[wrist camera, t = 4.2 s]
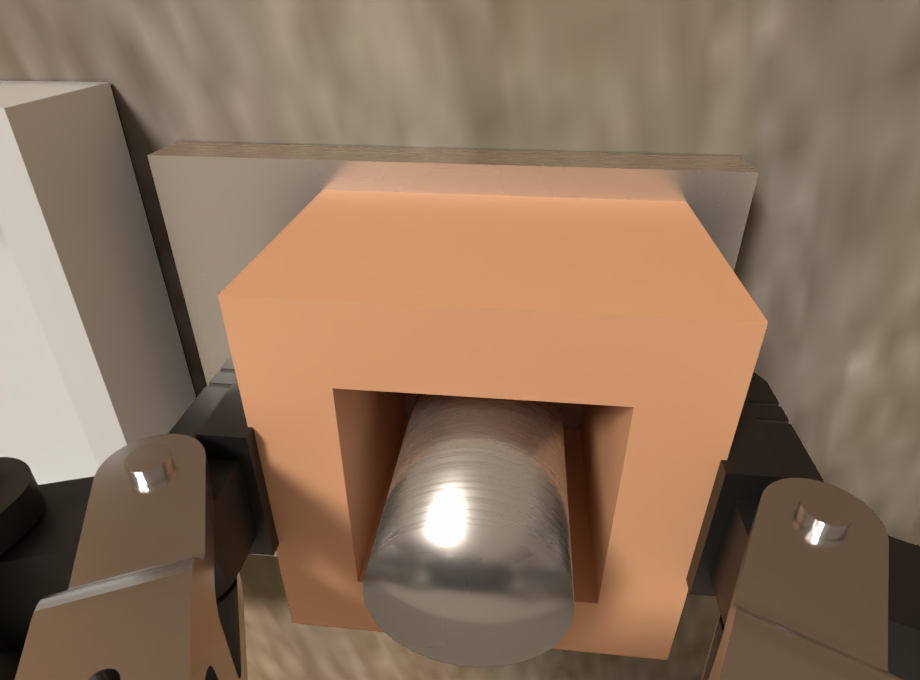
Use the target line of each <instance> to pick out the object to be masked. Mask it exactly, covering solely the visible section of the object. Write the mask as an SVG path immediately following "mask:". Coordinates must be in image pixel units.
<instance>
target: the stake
mask: <svg viewBox="0 0 920 680" xmlns="http://www.w3.org/2000/svg"><path fill="white" fill-rule="evenodd" d="M147 156H148V160H149V164H150V168H151V171H152V175H153V179H154V183H155V187H156V191H157V195H158V198H159V202H160V206H161V210H162V214H163V218H164V221H165V225H166V229H167V233H168V237H169V241H170V245H171V248H172V252H173V256H174V260H175V264H176V268H177V272H178V275H179V279H180V283H181V287H182V291H183V295H184V298H185V302H186V306H187V310H188V314H189V318H190V322H191V325H192V329H193V333H194V337H195V341H196V345H197V348H198V352H199V356H200V360H201V364H202V368H203V372H204V375H205V379H206V383H207V386H209V382H210V380H211V379H212V378H213V377H214V375H215V374H216V373H217V372H220V368H221V367H222V365H223V364H224V363H225V362H226V360H227V359H228V358H229V357H230V355H231V351H230V347H229V342H228V338H227V334H226V329H225V325H224V320H223V316H222V312H221V307H220V303H219V298H218V295H219V294H220V293H221V292H222V291H223V290H224V289H225V288H226V287H227V286H228V285H229V284H230V283H231V282H232V281H233V280H234V279H235V278H236V277H237V276H238V274H239V273H240V272H241V271H242V270H243V269H244V268H245V267H246V266H247V265H248V264H249V263H250V262H251V261H252V260H253V259H254V258H255V257H256V256H257V255H258V254H259V253H260V252H261V251H262V250H263V249H264V248H265V247H266V246H267V245H268V244H269V243H270V242H271V241H272V240H273V239H274V238H275V237H276V236H277V235H278V234H279V233H280V232H281V231H282V230H283V229H284V228H285V227H286V226H287V225H288V224H289V223H290V222H291V221H292V220H293V219H294V218H295V217H296V216H297V215H298V214H299V213H300V212H301V211H302V210H303V209H304V208H305V207H306V206H307V205H308V204H309V203H310V202H311V201H312V200H313V199H314V198H315V197H316V196H317V195H318V194H319V193H320V192H321V191H322V190H342V191H373V192H404V193H435V194H465V195H496V196H527V197H557V198H588V199H619V200H650V201H680V202H687V203H688V205H689V206H690V208H691V209H692V211H693V212H694V214H695V215H696V217H697V218H698V220H699V221H700V223H701V224H702V226H703V227H704V229H705V230H706V231H707V233H708V234H709V236H710V237H711V239H712V240H713V242H714V243H715V245H716V246H717V248H718V249H719V251H720V252H721V254H722V255H723V257H724V258H725V260H726V261H727V262H728V264H729V265H730V267H731V268H732V270H733V271H734V269H735V265H736V261H737V257H738V253H739V249H740V245H741V241H742V237H743V233H744V229H745V225H746V221H747V217H748V213H749V209H750V205H751V201H752V197H753V194H754V190H755V186H756V182H757V178H758V174H759V172H758V171H757V170H756V169H754V168H753V167H752V166H751V165H750V164H749V163H747V162H746V161H745V160H744V159H743V158H742V157H741V156H715V155H676V154H638V153H599V152H560V151H522V150H483V149H444V148H406V147H367V146H328V145H290V144H251V143H212V142H175V143H173V144H171V145H168V146H166V147H164V148H162V149H160V150H157V151H155V152H153V153H151V154H149V155H147ZM404 402H405V419H409V422H408V425H407V429H406V432H405V436H404V439H403V443H402V446H401V450H400V453H399V457H398V460H397V464H396V468H395V471H394V475H393V478H392V482H391V485H390V489H389V492H388V496H387V499H386V503H385V506H384V510H383V513H382V517H381V520H380V524H379V527H378V531H377V535H376V538H375V542H374V545H373V549H372V552H371V556H370V559H369V563H368V566H367V570H366V573H365V577H364V582H363V597H364V601H365V605H366V607H367V609H368V612H369V614H370V615H371V617H372V618H373V620H374V621H375V623H376V624H377V625H378V626H379V627H380V628H381V629H382V630H383V631H384V632H385V633H386V634H387V635H388V636H389V637H391V638H392V639H393V640H395V641H396V642H397V643H399V644H401V645H402V646H404V647H406V648H407V649H409V650H411V651H413V652H415V653H417V654H420V655H422V656H425V657H428V658H430V659H434V660H437V661H440V662H444V663H449V664H454V665H461V666H469V667H497V666H506V665H511V664H516V663H520V662H523V661H527V660H530V659H532V658H535V657H537V656H539V655H541V654H543V653H545V652H547V651H548V650H550V649H551V648H552V647H554V646H555V645H556V644H557V643H558V642H559V641H560V640H561V639H562V638H563V637H564V636H565V634H566V633H567V632H568V630H569V628H570V626H571V624H572V621H573V617H574V607H575V604H574V588H573V573H572V557H571V541H570V526H569V510H568V494H567V479H566V463H565V447H564V432H563V429H569V430H580V429H581V422H582V414H583V406H584V404H576V403H560V402H544V401H528V400H512V399H496V398H480V397H464V396H448V395H432V394H416V393H404ZM254 555H259V554H254ZM265 556H270V555H265ZM274 556H277V553H276V552H275V554H274Z"/></svg>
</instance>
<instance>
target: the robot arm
mask: <svg viewBox="0 0 920 680" xmlns="http://www.w3.org/2000/svg"><path fill="white" fill-rule="evenodd" d="M778 404H779V402H778V401H777V399H776V397H775V395H774V394H773V392H772V390H771V388H770V387H769V385H768V383H767V382H766V381H765V380H763V379H762V378H761V377H760V376H758V375H757V374H756V373H755V372H753V375H752V378H751V381H750V385H749V388H748V391H747V395H746V398H745V402H744V405H743V408H742V412H741V415H740V418H739V422H738V425H737V428H736V432H735V435H734V438H733V442H732V445H731V448H730V452H729V455H728V459H727V460H721V461H720V464H719V468H718V471H717V475H716V478H715V481H714V485H713V488H712V492H711V495H710V499H709V502H708V505H707V509H706V512H705V516H704V519H703V523H702V526H701V530H700V533H699V536H698V540H697V543H696V547H695V550H694V554H693V557H692V560H691V564H690V567H689V571H688V574H687V578H686V581H687V585H688V589H689V593H690V594H695V595H706V596H716V600H717V603H718V607H719V610H720V615H719V618H718V621H717V624H716V627H715V630H714V633H713V637H712V641H711V644H710V648H709V651H708V655H707V659H706V662H705V666H704V670H703V673H702V677H701V680H920V546H917V545H914V544H911V543H907V542H904V541H901V540H898V539H895V538H893V537H890V536H888V533H887V531H886V528H885V526H884V525H883V523H882V521H881V520H880V518H879V517H878V516H877V515H876V514H875V513H874V511H872V510H871V509H870V508H869V507H868V506H867V505H866V504H865V503H863V502H862V501H861V500H859V499H858V498H856V497H855V496H853V495H851V494H850V493H848V492H846V491H844V490H842V489H840V488H838V487H835V486H833V485H830V484H828V483H825V482H824V481H823V479H822V477H821V476H820V474H819V472H818V470H817V469H816V467H815V465H814V463H813V462H812V460H811V458H810V456H809V455H808V453H807V451H806V449H805V448H804V446H803V444H802V442H801V441H800V439H799V437H798V435H797V434H796V432H795V430H794V428H793V427H792V425H791V424H788V418H787V416H786V415H785V413H784V411H783V409H782V408H781V407H779V406H778ZM278 545H279V542H278V537H277V533H276V528H275V524H274V519H273V515H272V510H271V506H270V501H269V497H268V492H267V488H266V483H265V479H264V474H263V470H262V465H261V461H260V456H259V452H258V447H257V443H256V438H255V434H254V429H253V427H248V426H247V421H246V417H245V413H244V408H243V404H242V399H241V395H240V391H239V386H238V382H237V377H236V373H235V369H234V364H233V360H232V355H230V357H229V358H228V359H227V360H226V362H225V363H224V364H223V365H222V367H221V368H220V372H217V373H216V374H215V375H214V377H213V378H212V379H211V380H210V382H209V386H206V387H205V388H204V389H203V390H202V392H201V393H200V394H199V395H198V397H197V398H196V399H195V400H194V402H193V403H192V404H191V405H190V407H189V408H188V409H187V410H186V412H185V413H184V414H183V415H182V417H181V418H180V419H179V420H178V422H177V423H176V424H175V425H174V427H173V428H172V429H171V430H170V432H169V433H168V434H161V435H154V436H150V437H146V438H143V439H140V440H137V441H135V442H133V443H130V444H128V445H126V446H124V447H123V448H121V449H119V450H118V451H116V452H115V453H113V454H112V455H111V456H109V457H108V458H107V459H106V460H105V461H104V462H103V463H102V464H101V466H100V467H99V468H98V470H97V472H96V473H95V476H92V477H86V478H80V479H73V480H67V481H60V482H54V483H48V484H41V485H38V484H37V482H36V480H35V478H34V476H33V474H32V472H31V469H30V467H29V466H28V465H27V464H26V463H25V462H23V461H22V460H19V459H16V458H11V457H0V680H248V676H247V658H246V640H245V623H244V605H243V587H242V581H241V577H240V573H239V571H240V569H241V567H242V565H243V563H244V561H245V559H246V557H247V555H248V554H259V555H270V556H274V554H275V552H276V550H277V548H278Z"/></svg>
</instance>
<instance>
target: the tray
mask: <svg viewBox="0 0 920 680" xmlns="http://www.w3.org/2000/svg"><path fill="white" fill-rule="evenodd" d="M195 399H196V395H195V392H194V388H193V384H192V381H191V377H190V373H189V370H188V366H187V362H186V359H185V355H184V352H183V348H182V344H181V341H180V337H179V333H178V330H177V326H176V322H175V319H174V315H173V311H172V308H171V304H170V301H169V297H168V293H167V290H166V286H165V282H164V279H163V275H162V271H161V268H160V264H159V261H158V257H157V253H156V250H155V246H154V242H153V239H152V235H151V231H150V228H149V224H148V220H147V217H146V213H145V210H144V206H143V202H142V199H141V195H140V191H139V188H138V184H137V180H136V177H135V173H134V169H133V166H132V162H131V159H130V155H129V151H128V148H127V144H126V140H125V137H124V133H123V129H122V126H121V122H120V119H119V115H118V111H117V108H116V104H115V100H114V97H113V93H112V89H111V86H110V82H68V81H9V80H0V457H11V458H16V459H19V460H22V461H23V462H25V463H26V464H27V465H28V466H29V467H30V469H31V472H32V474H33V476H34V478H35V480H36V482H37V484H38V485H41V484H48V483H54V482H60V481H67V480H73V479H80V478H86V477H92V476H95V473H96V472H97V470H98V468H99V467H100V466H101V464H102V463H103V462H104V461H105V460H106V459H107V458H108V457H109V456H111V455H112V454H113V453H115V452H116V451H118V450H119V449H121V448H123V447H124V446H126V445H128V444H130V443H133V442H135V441H137V440H140V439H143V438H146V437H150V436H154V435H161V434H168V433H169V432H170V430H171V429H172V428H173V427H174V425H175V424H176V423H177V422H178V420H179V419H180V418H181V417H182V415H183V414H184V413H185V412H186V410H187V409H188V408H189V407H190V405H191V404H192V403H193V402H194V400H195Z"/></svg>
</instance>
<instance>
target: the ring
mask: <svg viewBox="0 0 920 680" xmlns="http://www.w3.org/2000/svg"><path fill="white" fill-rule="evenodd" d="M218 298H219V303H220V307H221V312H222V316H223V320H224V325H225V329H226V334H227V338H228V342H229V347H230V351H231V355H232V360H233V364H234V369H235V373H236V377H237V382H238V386H239V391H240V395H241V399H242V404H243V408H244V413H245V417H246V421H247V426H248V427H253V429H254V434H255V438H256V443H257V447H258V452H259V456H260V461H261V465H262V470H263V474H264V479H265V483H266V488H267V492H268V497H269V501H270V506H271V510H272V515H273V519H274V524H275V528H276V533H277V537H278V542H279V545H278V548H277V550H276V553H277V557H278V562H279V566H280V571H281V575H282V579H283V584H284V588H285V593H286V597H287V601H288V606H289V610H290V614H291V619H292V623H296V624H306V625H317V626H327V627H337V628H347V629H357V630H367V631H377V632H384V631H383V630H382V629H381V628H380V627H379V626H378V625H377V624H376V623H375V621H374V620H373V618H372V617H371V615H370V614H369V612H368V609H367V607H366V605H365V601H364V597H363V582H364V577H365V573H366V570H367V566H368V563H369V559H370V556H371V552H372V549H373V545H374V542H375V538H376V535H377V531H378V527H379V524H380V520H381V517H382V513H383V510H384V506H385V503H386V499H387V496H388V492H389V489H390V485H391V482H392V478H393V475H394V471H395V468H396V464H397V460H398V457H399V453H400V450H401V446H402V443H403V439H404V436H405V432H406V429H407V425H408V422H409V419H405V402H404V393H416V394H432V395H448V396H464V397H480V398H496V399H512V400H528V401H544V402H560V403H576V404H584V406H583V414H582V422H581V429H580V430H569V429H563V432H564V447H565V463H566V479H567V494H568V510H569V526H570V541H571V557H572V573H573V588H574V604H575V607H574V617H573V621H572V624H571V626H570V628H569V630H568V632H567V633H566V634H565V636H564V637H563V638H562V639H561V640H560V641H559V642H558V643H557V644H556V645H555V646H554V647H552V648H551V649H560V650H570V651H580V652H590V653H601V654H611V655H621V656H631V657H641V658H651V659H661V660H668V656H669V653H670V650H671V646H672V643H673V640H674V636H675V633H676V630H677V626H678V623H679V620H680V616H681V613H682V610H683V606H684V603H685V599H686V596H687V593H688V585H687V581H686V578H687V574H688V571H689V567H690V564H691V560H692V557H693V554H694V550H695V547H696V543H697V540H698V536H699V533H700V530H701V526H702V523H703V519H704V516H705V512H706V509H707V505H708V502H709V499H710V495H711V492H712V488H713V485H714V481H715V478H716V475H717V471H718V468H719V464H720V461H721V460H727V459H728V455H729V452H730V448H731V445H732V442H733V438H734V435H735V432H736V428H737V425H738V422H739V418H740V415H741V412H742V408H743V405H744V402H745V398H746V395H747V391H748V388H749V385H750V381H751V378H752V375H753V371H754V368H755V365H756V361H757V358H758V355H759V351H760V348H761V345H762V341H763V338H764V334H765V331H766V328H767V324H768V322H767V320H766V319H765V317H764V316H763V314H762V313H761V311H760V310H759V308H758V307H757V305H756V304H755V302H754V301H753V299H752V298H751V296H750V295H749V294H748V292H747V291H746V289H745V288H744V286H743V285H742V283H741V282H740V280H739V279H738V277H737V276H736V274H735V273H734V271H733V270H732V268H731V267H730V265H729V264H728V262H727V261H726V260H725V258H724V257H723V255H722V254H721V252H720V251H719V249H718V248H717V246H716V245H715V243H714V242H713V240H712V239H711V237H710V236H709V234H708V233H707V231H706V230H705V229H704V227H703V226H702V224H701V223H700V221H699V220H698V218H697V217H696V215H695V214H694V212H693V211H692V209H691V208H690V206H689V205H688V203H687V202H680V201H650V200H619V199H588V198H557V197H527V196H496V195H465V194H435V193H404V192H373V191H342V190H322V191H321V192H320V193H319V194H318V195H317V196H316V197H315V198H314V199H313V200H312V201H311V202H310V203H309V204H308V205H307V206H306V207H305V208H304V209H303V210H302V211H301V212H300V213H299V214H298V215H297V216H296V217H295V218H294V219H293V220H292V221H291V222H290V223H289V224H288V225H287V226H286V227H285V228H284V229H283V230H282V231H281V232H280V233H279V234H278V235H277V236H276V237H275V238H274V239H273V240H272V241H271V242H270V243H269V244H268V245H267V246H266V247H265V248H264V249H263V250H262V251H261V252H260V253H259V254H258V255H257V256H256V257H255V258H254V259H253V260H252V261H251V262H250V263H249V264H248V265H247V266H246V267H245V268H244V269H243V270H242V271H241V272H240V273H239V274H238V276H237V277H236V278H235V279H234V280H233V281H232V282H231V283H230V284H229V285H228V286H227V287H226V288H225V289H224V290H223V291H222V292H221V293H220V294H219V295H218Z"/></svg>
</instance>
